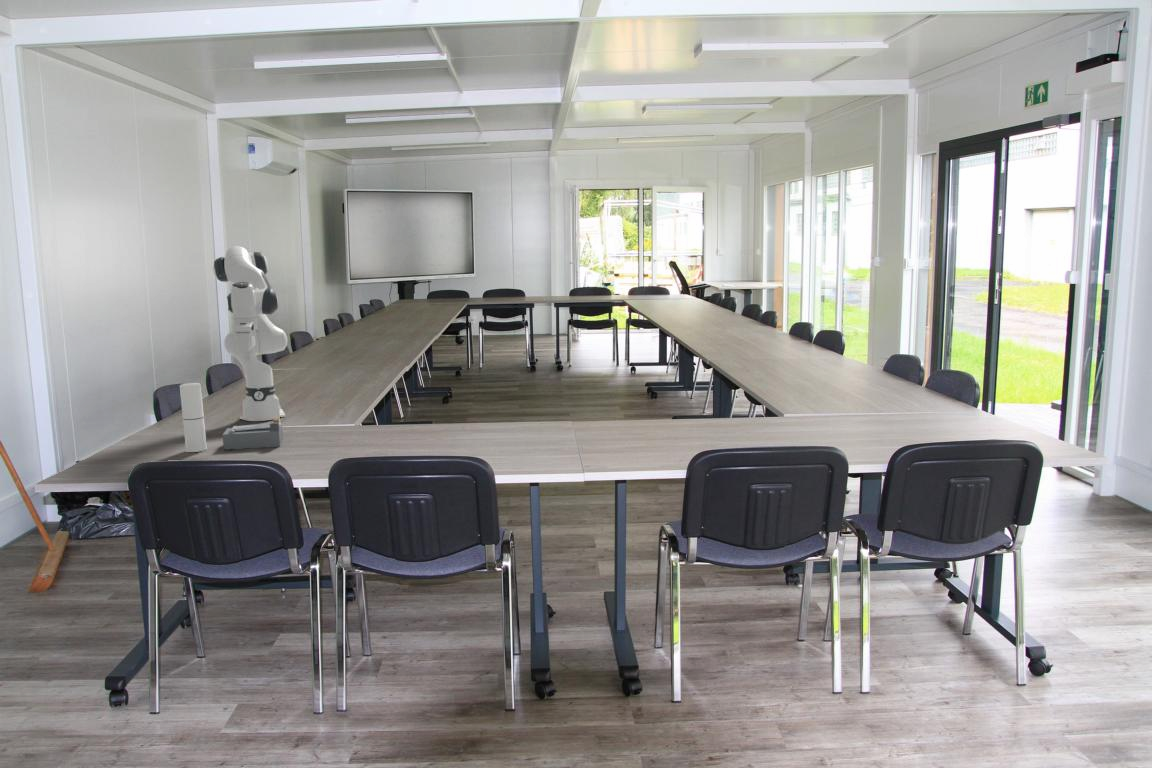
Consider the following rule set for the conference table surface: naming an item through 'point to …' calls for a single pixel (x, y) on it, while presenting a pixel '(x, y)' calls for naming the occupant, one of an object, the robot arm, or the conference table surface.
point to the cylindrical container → (193, 417)
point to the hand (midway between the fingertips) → (248, 360)
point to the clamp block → (253, 437)
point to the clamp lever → (255, 426)
